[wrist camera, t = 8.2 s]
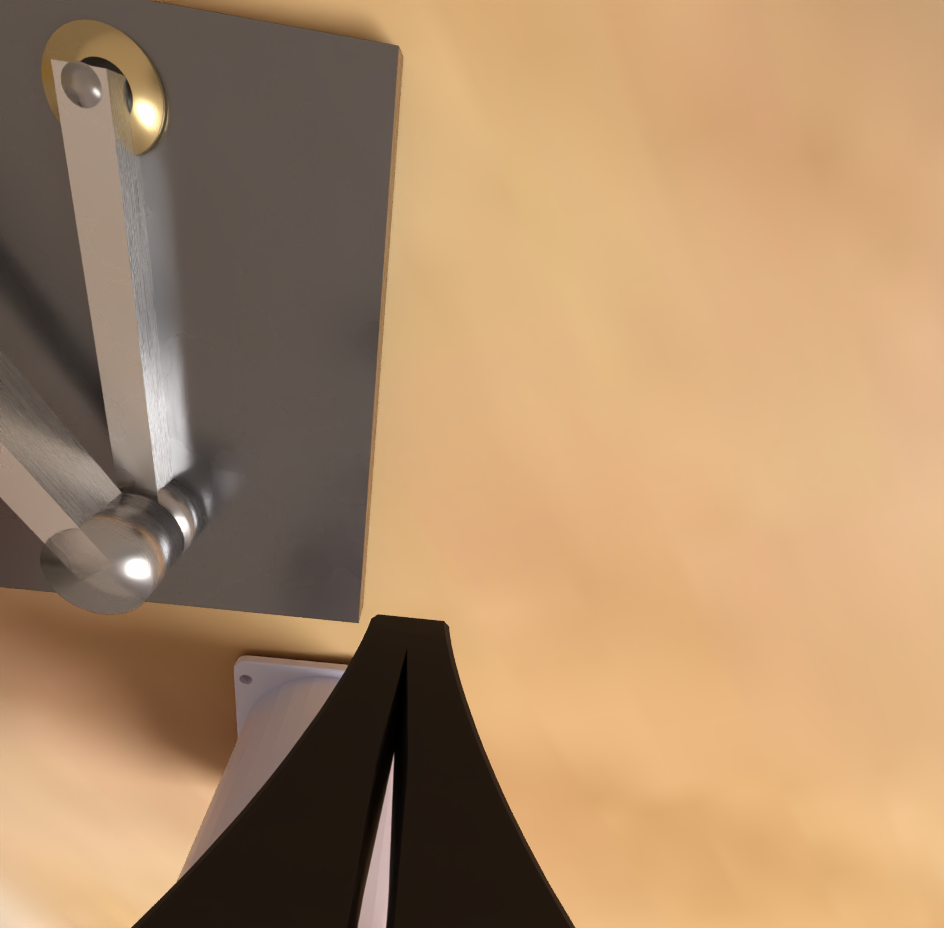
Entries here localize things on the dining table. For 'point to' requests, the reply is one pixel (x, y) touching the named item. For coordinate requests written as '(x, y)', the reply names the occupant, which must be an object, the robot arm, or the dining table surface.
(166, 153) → the plate
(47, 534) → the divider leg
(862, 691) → the dining table surface
